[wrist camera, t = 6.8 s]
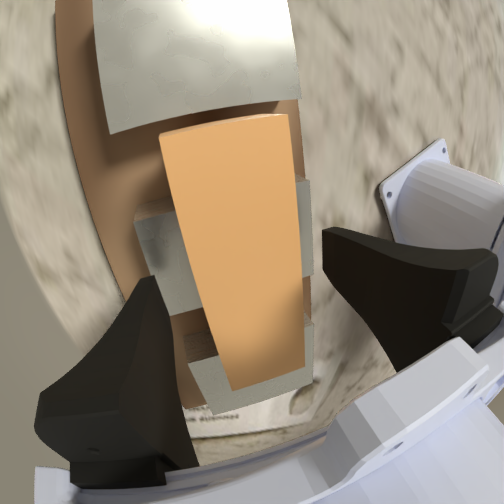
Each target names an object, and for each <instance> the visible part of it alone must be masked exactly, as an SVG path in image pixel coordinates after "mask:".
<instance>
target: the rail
mask: <svg viewBox="0 0 504 504" xmlns="http://www.w3.org/2000/svg"><path fill="white" fill-rule="evenodd" d="M92 2H93V20H94V33H95V44H96V53H97V61H98V69H99V76H100V83H101V89H102V95H103V101H104V106H105V112H106V117H107V122H108V127H109V132H110V135H111V134H114V133H117V132H120V131H124V130H127V129H130V128H134V127H137V126H141V125H145V124H149V123H152V122H156V121H160V120H164V119H169V118H173V117H177V116H182V115H187V114H191V113H196V112H201V111H207V110H212V109H218V108H224V107H231V106H237V105H244V104H252V103H260V102H270V101H280V100H292V99H302V97H301V89H300V81H299V73H298V66H297V59H296V52H295V46H294V39H293V33H292V27H291V22H290V16H289V10H288V5H287V0H92ZM294 174H295V173H294ZM295 185H296V196H297V207H298V220H299V233H300V248H301V264H302V278H303V277H307V276H310V275H313V274H314V269H313V237H312V215H311V197H310V182H309V180H307V179H305V178H303V177H301V176H299V175H297V174H295ZM133 224H134V227H135V230H136V233H137V236H138V239H139V242H140V245H141V248H142V251H143V254H144V257H145V260H146V263H147V266H148V268H149V271H150V274H151V275H155V278H156V281H157V283H158V286H159V289H160V291H161V294H162V297H163V299H164V302H165V305H166V307H167V310H168V312H169V315H170V316H172V315H175V314H179V313H183V312H187V311H190V310H194V309H198V308H201V307H203V305H202V302H201V298H200V295H199V292H198V289H197V285H196V282H195V279H194V275H193V272H192V268H191V265H190V262H189V258H188V255H187V251H186V247H185V244H184V240H183V236H182V233H181V229H180V225H179V221H178V218H177V214H176V210H175V206H174V202H173V198H172V196H168V197H164V198H160V199H157V200H153V201H149V202H146V203H142V204H139V205H137V208H136V212H135V217H134V221H133ZM304 335H305V367H303V368H300V369H298V370H295V371H292V372H290V373H287V374H284V375H281V376H279V377H276V378H273V379H270V380H267V381H264V382H261V383H258V384H255V385H252V386H248V387H245V388H242V389H239V390H235V391H232V390H231V387H230V384H229V381H228V379H227V376H226V373H225V370H224V368H223V365H222V362H221V359H220V356H219V353H218V350H217V348H216V345H215V342H214V339H213V336H212V333H211V330H210V329H206V330H202V331H199V332H195V333H191V334H187V335H184V336H183V341H184V347H185V352H186V358H187V363H188V366H189V368H190V370H191V372H192V374H193V376H194V378H195V380H196V382H197V384H198V386H199V388H200V390H201V392H202V394H203V396H204V398H205V400H206V402H207V404H208V406H209V408H210V410H211V412H212V414H213V415H216V414H220V413H224V412H228V411H231V410H235V409H238V408H242V407H245V406H248V405H251V404H255V403H258V402H261V401H264V400H267V399H270V398H273V397H276V396H279V395H281V394H284V393H287V392H290V391H292V390H295V389H298V388H300V387H303V386H306V385H308V384H311V383H312V382H313V350H314V324H313V323H312V321H311V320H310V318H309V317H308V316H307V314H306V313H305V311H304Z"/></svg>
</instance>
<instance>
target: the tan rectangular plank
mask: <svg viewBox="0 0 504 504" xmlns="http://www.w3.org/2000/svg"><path fill="white" fill-rule="evenodd" d="M159 141H160V146H161V151H162V155H163V160H164V164H165V169H166V173H167V177H168V181H169V186H170V190H171V194H172V198H173V202H174V206H175V210H176V214H177V218H178V221H179V225H180V229H181V233H182V236H183V240H184V244H185V247H186V251H187V255H188V258H189V262H190V265H191V268H192V272H193V275H194V279H195V282H196V285H197V289H198V292H199V295H200V298H201V302H202V305H203V308H204V311H205V314H206V317H207V320H208V324H209V327H210V330H211V333H212V336H213V339H214V342H215V345H216V348H217V350H218V353H219V356H220V359H221V362H222V365H223V368H224V370H225V373H226V376H227V379H228V381H229V384H230V387H231V390H232V391H235V390H239V389H242V388H245V387H248V386H252V385H255V384H258V383H261V382H264V381H267V380H270V379H273V378H276V377H279V376H281V375H284V374H287V373H290V372H292V371H295V370H298V369H300V368H303V367H305V335H304V305H303V283H302V264H301V248H300V233H299V220H298V207H297V196H296V185H295V174H294V164H293V154H292V145H291V136H290V128H289V120H288V114H257V115H250V116H243V117H237V118H231V119H225V120H220V121H214V122H209V123H204V124H199V125H195V126H190V127H186V128H181V129H177V130H173V131H169V132H165V133H161V134H160V135H159Z"/></svg>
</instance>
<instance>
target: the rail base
mask: <svg viewBox="0 0 504 504" xmlns="http://www.w3.org/2000/svg"><path fill="white" fill-rule="evenodd" d="M55 23H56V43H57V56H58V66H59V75H60V83H61V90H62V96H63V103H64V108H65V114H66V119H67V124H68V129H69V134H70V139H71V143H72V147H73V152H74V156H75V160H76V164H77V167H78V171H79V175H80V178H81V182H82V185H83V189H84V192H85V195H86V199H87V202H88V205H89V208H90V211H91V214H92V217H93V220H94V223H95V226H96V229H97V232H98V235H99V237H100V240H101V243H102V245H103V248H104V251H105V253H106V256H107V258H108V261H109V263H110V266H111V268H112V271H113V273H114V275H115V278H116V280H117V283H118V285H119V287H120V289H121V292H122V294H123V296H124V298H125V301H126V302H127V300H128V298H129V297H130V295H131V293H132V291H133V290H134V288H135V286H136V284H137V283H138V281H139V280H140V278H144V277H148V276H151V274H150V271H149V268H148V266H147V263H146V260H145V257H144V254H143V251H142V248H141V245H140V242H139V239H138V236H137V233H136V230H135V227H134V224H133V221H134V217H135V212H136V208H137V205H139V204H142V203H146V202H149V201H153V200H157V199H160V198H164V197H168V196H172V194H171V190H170V186H169V181H168V177H167V173H166V169H165V164H164V160H163V155H162V151H161V146H160V141H159V135H160V134H161V133H165V132H169V131H173V130H177V129H181V128H186V127H190V126H195V125H199V124H204V123H209V122H214V121H220V120H225V119H231V118H237V117H243V116H250V115H257V114H288V120H289V128H290V136H291V145H292V154H293V164H294V173H295V174H297V175H299V176H301V177H303V178H305V169H304V157H303V146H302V136H301V126H300V117H299V108H298V99H292V100H280V101H270V102H260V103H252V104H244V105H237V106H231V107H224V108H218V109H212V110H207V111H201V112H196V113H191V114H187V115H182V116H177V117H173V118H169V119H164V120H160V121H156V122H152V123H149V124H145V125H141V126H137V127H134V128H130V129H127V130H124V131H120V132H117V133H114V134H111V135H110V132H109V127H108V122H107V117H106V112H105V106H104V101H103V95H102V89H101V83H100V76H99V69H98V61H97V53H96V44H95V33H94V20H93V2H92V0H56V1H55ZM302 283H303V305H304V311H305V313H306V314H307V316H308V317H309V318H310V320H311V287H310V276H307V277H303V278H302ZM170 321H171V326H172V331H173V340H174V355H175V368H176V379H177V386H178V392H179V396H180V401H181V404H182V405H183V407H184V408H185V409H189V408H193V407H197V406H201V405H205V404H207V402H206V400H205V398H204V396H203V394H202V392H201V390H200V388H199V386H198V384H197V382H196V380H195V378H194V376H193V374H192V372H191V370H190V368H189V366H188V363H187V358H186V352H185V347H184V341H183V336H184V335H187V334H191V333H195V332H199V331H202V330H206V329H210V327H209V324H208V320H207V317H206V314H205V311H204V308H203V307H201V308H198V309H194V310H190V311H187V312H183V313H179V314H175V315H172V316H170Z"/></svg>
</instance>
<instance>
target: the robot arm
mask: <svg viewBox="0 0 504 504" xmlns="http://www.w3.org/2000/svg"><path fill="white" fill-rule="evenodd" d="M379 192H380V195H381V198H382V201H383V204H384V207H385V210H386V213H387V216H388V220H389V223H390V226H391V230H392V233H393V237H394V240H395V242H392V241H388V240H384V239H380V238H376V237H373V236H369V235H366V234H362V233H359V232H355V231H352V230H348V229H344V228H339V227H331V228H327V229H324V230H322V259H323V271H324V273H325V274H326V276H327V277H328V279H329V280H330V282H331V283H332V285H333V286H334V287H335V288H336V290H337V291H338V292H339V293H340V294H341V295H342V296H343V297H344V299H345V300H346V301H347V302H348V303H349V304H350V305H351V306H352V307H353V308H354V310H355V311H356V312H357V313H358V314H359V315H360V316H361V317H362V319H363V320H364V321H365V322H366V323H367V325H368V326H369V328H370V329H371V331H372V332H373V333H374V335H375V336H376V338H377V339H378V341H379V343H380V344H381V346H382V347H383V349H384V351H385V352H386V354H387V356H388V358H389V359H390V361H391V363H392V365H393V367H394V369H395V370H396V372H397V373H396V374H394V375H392V376H391V377H389V378H387V379H385V380H383V381H382V382H380V383H378V384H376V385H374V386H372V387H371V388H369V389H368V390H366V391H365V392H363V393H362V394H360V395H358V396H357V397H355V398H354V399H352V400H351V401H350V402H349V403H348V404H347V405H346V406H344V407H343V408H342V409H341V410H340V411H339V412H338V413H337V414H336V415H335V417H334V418H333V420H332V422H331V423H330V425H328V426H326V427H323V428H321V429H319V430H316V431H314V432H311V433H309V434H306V435H304V436H301V437H299V438H296V439H293V440H291V441H288V442H285V443H282V444H280V445H277V446H274V447H271V448H268V449H265V450H261V451H258V452H255V453H252V454H248V455H245V456H241V457H237V458H234V459H230V460H226V461H222V462H218V463H213V464H209V465H204V466H199V463H198V460H197V457H196V454H195V451H194V448H193V445H192V442H191V438H190V435H189V432H188V428H187V425H186V421H185V417H184V413H183V409H182V405H181V401H180V396H179V392H178V386H177V379H176V368H175V355H174V340H173V331H172V326H171V321H170V315H169V312H168V310H167V307H166V305H165V302H164V299H163V297H162V294H161V291H160V289H159V286H158V283H157V281H156V278H155V275H151V276H148V277H144V278H140V280H139V281H138V283H137V284H136V286H135V288H134V290H133V291H132V293H131V295H130V297H129V298H128V300H127V302H126V303H125V305H124V307H123V308H122V310H121V311H120V313H119V314H118V316H117V317H116V319H115V320H114V322H113V324H112V325H111V326H110V328H109V329H108V330H107V332H106V333H105V334H104V336H103V337H102V338H101V339H100V341H99V342H98V343H97V344H96V345H95V346H94V347H93V348H92V349H91V350H90V352H89V353H88V354H87V355H86V356H85V357H84V358H83V359H82V360H81V361H80V362H79V363H78V364H77V365H76V366H75V367H73V368H72V369H71V370H70V371H69V372H68V373H66V374H65V375H64V376H63V377H62V378H60V379H59V380H58V381H56V382H55V383H54V384H52V385H51V386H49V387H48V388H47V389H45V390H44V391H42V392H41V393H40V396H39V401H38V406H37V412H36V418H35V423H34V429H35V432H36V434H37V435H38V437H39V438H40V439H41V440H42V441H43V442H44V443H45V444H46V445H47V446H49V447H50V448H51V449H52V450H54V451H55V452H57V453H58V454H59V455H61V456H62V457H64V458H65V459H66V460H68V461H69V462H70V470H67V469H64V468H59V467H44V466H36V467H35V487H34V488H35V489H34V502H35V503H34V504H504V426H503V424H502V423H501V422H500V421H499V420H498V418H497V417H496V416H495V415H494V414H493V413H492V411H491V410H490V409H489V408H488V407H487V405H488V404H489V403H490V402H491V401H492V400H493V398H494V397H495V396H496V395H497V394H498V393H499V392H500V391H501V389H502V388H503V387H504V185H503V184H500V183H498V182H496V181H493V180H491V179H489V178H486V177H484V176H481V175H479V174H476V173H473V172H471V171H468V170H465V169H463V168H460V167H457V166H454V165H451V164H450V161H449V156H448V151H447V146H446V142H445V140H444V139H441V138H439V139H437V140H436V141H435V142H434V143H432V144H431V145H430V146H428V147H427V148H426V149H425V150H423V151H422V152H421V153H419V154H418V155H417V156H416V157H414V158H413V159H412V160H410V161H409V162H408V163H407V164H405V165H404V166H403V167H401V168H400V169H399V170H397V171H396V172H395V173H394V174H392V175H391V176H390V177H388V178H387V179H386V180H384V181H383V182H382V183H381V184H380V187H379ZM387 193H388V196H387Z"/></svg>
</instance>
